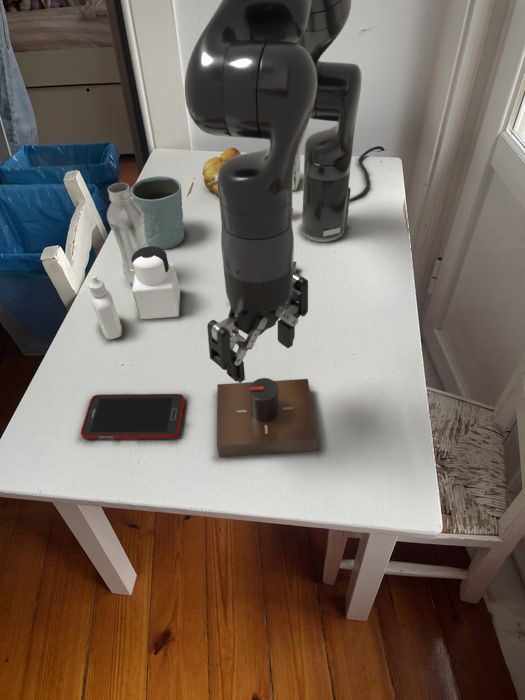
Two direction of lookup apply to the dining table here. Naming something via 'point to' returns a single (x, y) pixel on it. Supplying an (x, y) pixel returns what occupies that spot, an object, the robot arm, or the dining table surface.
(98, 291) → the eye dropper bottle
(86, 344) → the dining table surface
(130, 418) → the cell phone
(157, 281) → the medicine bottle
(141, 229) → the plastic bottle
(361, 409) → the dining table surface
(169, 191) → the teal plant pot
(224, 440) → the dial panel
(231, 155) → the bread roll
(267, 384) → the dial
